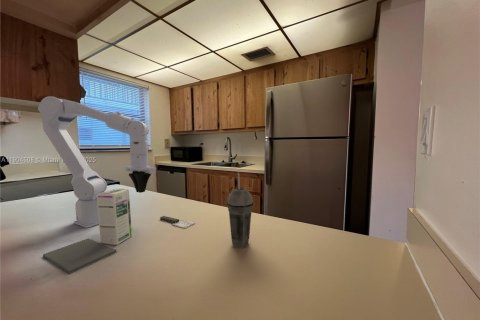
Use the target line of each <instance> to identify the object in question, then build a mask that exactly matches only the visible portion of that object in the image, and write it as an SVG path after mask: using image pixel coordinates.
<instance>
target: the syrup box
mask: <svg viewBox="0 0 480 320" xmlns="http://www.w3.org/2000/svg"><path fill="white" fill-rule="evenodd" d="M130 200H131V199H130V190H129V189H125V188H114V189H111V190H107V191H106V190H105V191H104V192H102V193H98V194H97V203H98V217H99V224H98V225H99V227H98V228H99V239H100V241H99V243H101V244H104V245H113V246H114V245H115V246H118V245H120V244H121V243H122V242H124V241H127V239H129V238H131V237H132V236H133V232H132V230H133V229H132V220H131V219H132V216H131V214H132V213H131V201H130Z"/></svg>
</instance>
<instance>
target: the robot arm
mask: <svg viewBox="0 0 480 320" xmlns="http://www.w3.org/2000/svg"><path fill="white" fill-rule="evenodd" d="M37 110H38V112H39V113H40V115H41V121H42V122H41V123H42V129H43V132H44V133H45V135H46V136H47V138H48V140H49V141H50V142H51V144H52V146H53V147H54V148H55V150H56V152H57V153H58V155H59V156H60V158H61V160H62V161H63V162H64V164H65V166H66V167H67V169H68V170H69V172H70V173H71V175H72V179H71V181H70V184H71V185H72V188H73V194H74V195H75V197H76V198H77V199H78V200H77V201H76V202H75V205H74V206H75V220H73V224H75V225H78V226H81V227H83V228H90V227H94V226H97V225H99V217H98V203H97V194H98V193H102V192H106V190H107V188H108V183H107V182H106V180H105V179H104V178H103V177H101V176H100V175H99V174H98V172H96V170H93V169H91V166H90V165H89V164H88V163H87V160H86V159H85V158H84V156H83V154H82V152H81V151H80V150H79V148H78V146H77V145H76V142H75V141H74V139H72V137H71V135H70V134H69V132H68V128H69V126H70V125H71V124H72V123H73V122H74V121H75V120H76V119H77V118H78V117H80V118H81V117H84V116H85V117H88V118H91V119H94V120H97V121H101V122H104V123H105V125H106V127H107V128H108V129H112V130H115V131H118V132H121V133H123V134H126V135H128V136H129V153H130V155H129V156H130V157H129V158H130V159H129V160H130V165H125V167H124V168H125V172H130V173H128V176H129V177H130V179H131V181H132V183H133V185H134V189H135V192H136V193H140V194H141V193H145V192H146V189H147V185H148V181H149V179H150V178H151V176H152V175H153V174H156V171H157V170H156V167H153V166H151V165H149V149H148V148H149V147H148V145H149V144H148V134H149V131H150V129H149V126H148V125H147V124H146V123H145V122H143V121H139V120H136V118H134V117H131V118H130V117H129V116H127V115H123V113H122V112H119V111H116V112H115V111H112V112H110V113H106V112H104V111H101V110H99V109H96V108H93V107H91V106H88V105H86V104H84V103H79V102H77V101H74V100H73V101H72V100H68V99H65V98H57V97H56V96H52V95H49V96H48V95H47V96H46V97H43V99H41V101H40V103H39V105H38V107H37Z"/></svg>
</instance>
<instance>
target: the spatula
mask: <svg viewBox="0 0 480 320" xmlns="http://www.w3.org/2000/svg"><path fill="white" fill-rule="evenodd" d="M159 218H160V219H159V220H160V221H163V222H167V223H172V224H171V225H172V226H174V227H176V228H177V227H178V228H182V229H187V228H190V227H192V226H193V225H195V224H196V221H195V222H193V221H190V220H187V219H186V220H185V219H181V220H180V219H179V218H174V217H171V216H167V215H162V216H160V217H159Z"/></svg>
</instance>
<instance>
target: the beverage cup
mask: <svg viewBox="0 0 480 320" xmlns="http://www.w3.org/2000/svg"><path fill="white" fill-rule="evenodd" d="M240 180H241V179H240V172H237V188H235V189H233V190H232V191H231V192H230V193H229V195H228V197H227V201H226V205H227V210H228V215H229V227H230V228H229V229H230V236H231V244H232V246H233V247H235V248H237V249H241V248H242V249H243V248H246V247H248V246H249V241H250V234H251V233H250V232H251V222H252V221H251V220H252V212H253V208H254V207H253V205H254V200H253V197H252V193H250V191H248V189H245V188H244V187H243V188H242V187H241V181H240Z"/></svg>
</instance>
